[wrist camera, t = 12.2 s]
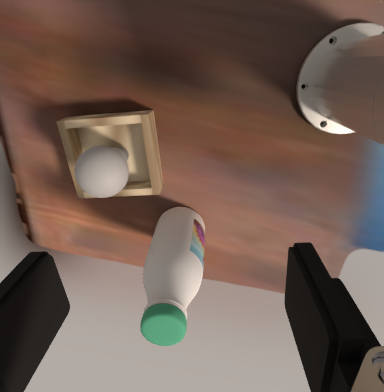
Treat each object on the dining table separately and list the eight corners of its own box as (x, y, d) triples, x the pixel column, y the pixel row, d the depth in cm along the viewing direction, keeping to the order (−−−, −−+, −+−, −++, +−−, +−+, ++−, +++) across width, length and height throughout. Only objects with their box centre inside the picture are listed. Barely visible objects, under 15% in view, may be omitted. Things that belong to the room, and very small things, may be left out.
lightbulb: (123, 180, 42) (96, 216, 32) (92, 151, 40) (53, 179, 30) (151, 154, 40) (132, 184, 30) (119, 122, 38) (87, 142, 28)
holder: (153, 110, 38) (148, 114, 35) (163, 184, 42) (159, 194, 39) (69, 116, 39) (56, 121, 36) (87, 188, 43) (78, 198, 40)
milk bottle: (153, 238, 47) (117, 347, 29) (164, 199, 44) (132, 294, 25) (196, 250, 47) (188, 365, 29) (211, 213, 44) (212, 315, 26)
